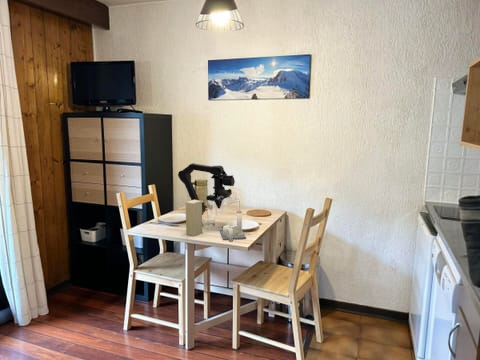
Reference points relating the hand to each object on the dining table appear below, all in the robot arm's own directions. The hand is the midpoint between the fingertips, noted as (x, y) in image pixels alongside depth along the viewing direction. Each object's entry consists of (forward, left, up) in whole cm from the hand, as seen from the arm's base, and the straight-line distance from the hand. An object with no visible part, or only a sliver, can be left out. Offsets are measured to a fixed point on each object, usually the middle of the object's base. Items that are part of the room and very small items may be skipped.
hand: (219, 208), depth 229 cm
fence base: (+22, +3, -13) cm, 26 cm away
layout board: (+16, +6, -13) cm, 21 cm away
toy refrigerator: (+9, -17, -13) cm, 23 cm away
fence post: (+17, +8, -12) cm, 22 cm away
